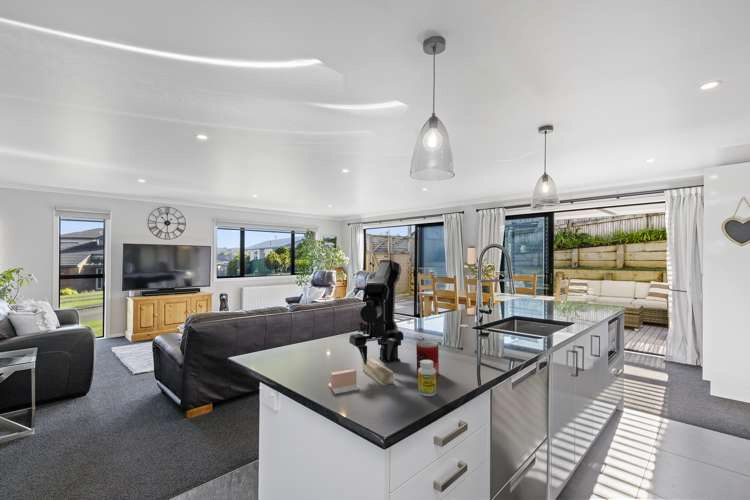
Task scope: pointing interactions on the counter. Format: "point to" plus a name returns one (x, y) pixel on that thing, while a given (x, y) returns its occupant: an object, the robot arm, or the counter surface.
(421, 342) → the canned food
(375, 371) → the beam
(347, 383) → the fulcrum
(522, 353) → the counter surface
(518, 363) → the counter surface
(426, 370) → the supplement bottle
